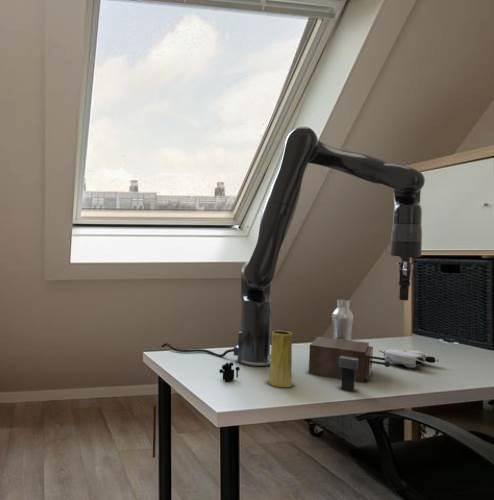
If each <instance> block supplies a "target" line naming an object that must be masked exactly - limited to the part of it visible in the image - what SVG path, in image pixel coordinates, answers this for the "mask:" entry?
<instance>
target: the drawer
mask: <svg viewBox="0 0 494 500" xmlns="http://www.w3.org/2000/svg"><path fill="white" fill-rule="evenodd" d="M376 360H379V361H376ZM383 361H384V362H383ZM373 364H374V365H383V366H384V367H386V368H390V367H391V364H392V363H391V358H390V357H386V358H384V357H381V356H374V346H371V345H369V347H368V349H367V352H366V354H365V370H364V379H365V380H370V378H371V374H372V371H373Z"/></svg>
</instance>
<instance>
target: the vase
mask: <svg viewBox="0 0 494 500" xmlns="http://www.w3.org/2000/svg"><path fill="white" fill-rule="evenodd" d="M292 347H293V333H292V332H291V331H287V330H271V341H270V355H271V359H270V365H269V378H268V384H269V385H271V386H273V387H277V388H290V387H292V386H293V381H292V380H293V379H292V378H293V376H292V372H293V371H292V363H293V361H292V359H293V358H292V357H293V355H292V354H293V353H292V352H293V351H292V349H293V348H292Z"/></svg>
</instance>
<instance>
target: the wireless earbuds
mask: <svg viewBox="0 0 494 500" xmlns="http://www.w3.org/2000/svg"><path fill="white" fill-rule="evenodd" d="M233 366H234V363H233V361H231V362H226V363H225V364H222V366H221V368H220V369H219V371H218V372H219V373H220V374H222V381H224V382H230V381H233V380H234V379H235V378H237V379H238V378H239V371H240V370H241V369H240V367H239V366H236V367H235V369H233ZM235 371H236V374H235ZM235 376H236V377H235Z"/></svg>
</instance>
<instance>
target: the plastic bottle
mask: <svg viewBox="0 0 494 500" xmlns="http://www.w3.org/2000/svg"><path fill="white" fill-rule="evenodd" d="M350 303H351V302H350V300H348V299H346V300H345V299H337V300H336V306H337V307H336V308H335V309H334V310H333V312H332V313H331V324H332V338H334V339H342V340H350V341H352V330H353V324H354V318H355V317H354V314H353V312H352V310H351V309H350V307H351V305H350Z"/></svg>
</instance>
